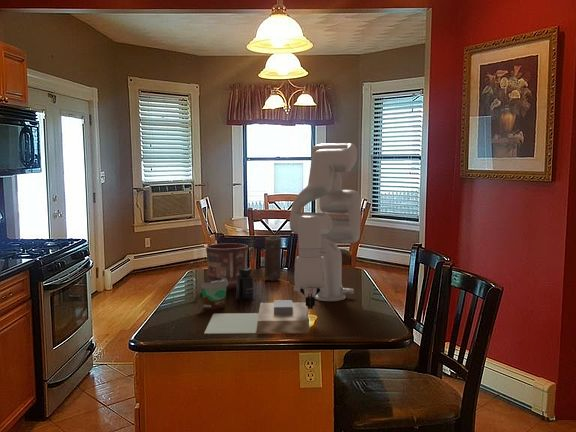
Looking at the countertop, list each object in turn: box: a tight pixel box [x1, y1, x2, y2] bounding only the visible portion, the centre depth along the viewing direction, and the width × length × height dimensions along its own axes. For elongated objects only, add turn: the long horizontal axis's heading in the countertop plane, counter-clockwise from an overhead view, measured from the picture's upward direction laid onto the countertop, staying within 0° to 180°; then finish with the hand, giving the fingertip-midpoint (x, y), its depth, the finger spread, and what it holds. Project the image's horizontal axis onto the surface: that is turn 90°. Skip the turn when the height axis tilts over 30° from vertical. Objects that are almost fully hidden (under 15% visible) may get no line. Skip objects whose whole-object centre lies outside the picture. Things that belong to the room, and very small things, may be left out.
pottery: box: [205, 242, 249, 291], centre depth 227 cm, size 18×18×18 cm
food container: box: [200, 277, 228, 310], centre depth 195 cm, size 12×6×10 cm, turn 148°
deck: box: [257, 301, 310, 335], centre depth 174 cm, size 16×22×4 cm
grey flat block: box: [273, 299, 293, 315], centre depth 174 cm, size 6×9×2 cm, turn 0°
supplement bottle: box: [235, 267, 255, 302], centre depth 207 cm, size 7×7×12 cm
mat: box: [203, 312, 259, 335], centre depth 175 cm, size 16×22×1 cm
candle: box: [263, 235, 282, 282], centre depth 239 cm, size 8×7×20 cm
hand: (310, 308), depth 174 cm, fingers closed
